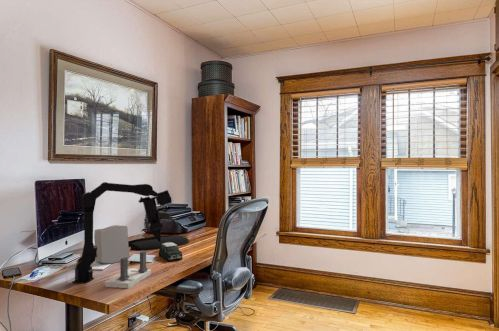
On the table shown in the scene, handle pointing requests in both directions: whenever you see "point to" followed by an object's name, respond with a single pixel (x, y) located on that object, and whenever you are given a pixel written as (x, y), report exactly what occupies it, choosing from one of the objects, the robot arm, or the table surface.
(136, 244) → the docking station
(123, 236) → the electrical switch box
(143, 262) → the on breaker
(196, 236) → the table surface
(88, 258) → the robot arm
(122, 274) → the lever
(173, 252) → the miniature car
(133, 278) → the breaker panel
